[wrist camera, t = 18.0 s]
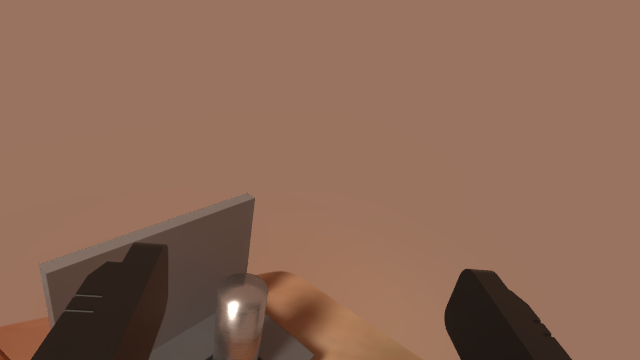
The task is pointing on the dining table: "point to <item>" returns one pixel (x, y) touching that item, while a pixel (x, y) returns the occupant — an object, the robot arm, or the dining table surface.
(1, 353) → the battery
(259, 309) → the rod
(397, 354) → the dining table surface
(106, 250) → the grey l-shaped stand
